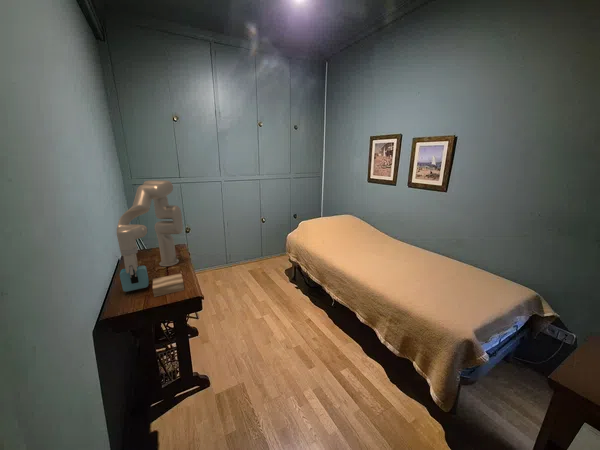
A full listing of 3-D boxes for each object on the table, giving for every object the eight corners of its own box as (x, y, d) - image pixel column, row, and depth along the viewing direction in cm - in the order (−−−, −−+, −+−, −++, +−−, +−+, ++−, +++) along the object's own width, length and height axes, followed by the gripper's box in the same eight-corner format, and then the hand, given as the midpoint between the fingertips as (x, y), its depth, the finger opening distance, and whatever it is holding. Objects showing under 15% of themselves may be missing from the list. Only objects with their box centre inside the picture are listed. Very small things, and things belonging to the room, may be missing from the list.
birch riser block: (154, 286, 139) (152, 278, 138) (182, 280, 147) (181, 273, 146) (154, 297, 129) (152, 288, 127) (184, 289, 136) (183, 282, 135)
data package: (149, 283, 139) (145, 264, 136) (148, 286, 135) (145, 267, 132) (124, 288, 133) (120, 269, 130) (123, 292, 129) (118, 272, 126)
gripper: (122, 247, 133) (128, 276, 138) (118, 257, 119) (125, 289, 124) (138, 244, 137) (143, 273, 142) (136, 254, 123) (142, 286, 128)
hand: (135, 280), depth 133 cm, fingers closed on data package, 4 cm apart
